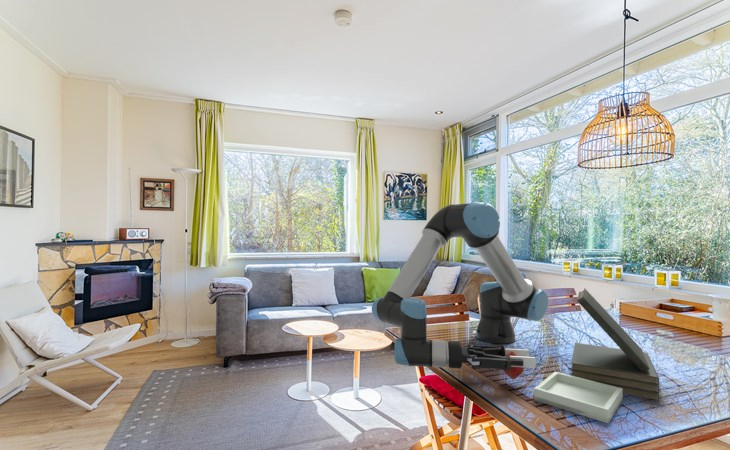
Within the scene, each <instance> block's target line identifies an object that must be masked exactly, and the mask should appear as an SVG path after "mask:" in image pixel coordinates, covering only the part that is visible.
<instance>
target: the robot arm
mask: <svg viewBox="0 0 730 450" xmlns="http://www.w3.org/2000/svg"><path fill="white" fill-rule="evenodd" d="M499 219H500V215H499V212H498V210H497V209H495V207H494V206H493V205H491V204H490V203H487V202H485V201H484V202H481V201H473V202H470V203H469V202H467V203H459V204H454V203H453V204H449V205H446V206H444V207H443V208H440V209H439V210H438V211H437V212H436V213H435V214H434V215H433V216H432V217H431V218H430V219H429V221H428V222H426V225H425V226H424V228H423V229H422V231H421V234H422V236H421V238H420V239H419V241H418V242H417V244H416V245H415V247H414V249H413V251H412V252H411V254H410V255H409V257H408V259H407V260H406V261H405V263H404V265H403V266H402V268H401V269H400V271H399V272H398V274H397V276H396V277H395V278H394V281H393V282H392V284H391V286H390V287H389V289H388V290H387V292H386V293H385V295H384V296H383V297H378V298H377V299H375V300H374V301H373V302H372V304H371V305H372V306H371V313H372V316H373V317H374V318H375V319H377V320H379V321H380V322H382V323H386V324H389V325H392V326H394V327H398V328H400V335H401V337H400V338H396V339H395V340H394V349H393V350H394V352H393V353H394V362H395V364H398V365H401V366H408V367H426V368H427V367H430V368H436V369H437V370H438V369H440V368H447V367H448V368H449V369H462V368H463V363H464V364H469V365H471V369H472V368H473V369H480V368H481V369H483V368H484V369H494V370H503V369H506V370H511V367H524V368H532V369H536V367H537V366H536V365H537V364H536V363H537V362H536V361H537V360H536V357H535V356H530V349H523V348H522V349H521V348H507V347H506V348H505V344H511V343H515V342H516V332H515V329H514V325H513V324H512V321H511V320H512V319H511V317H514V318H517V319H523V320H527V321H529V322H530V321H532V322H539V321H542V319H544V318H545V316H546V314H547V312H548V311H547V310H548V309H549V297H548V293H547V292H546V290H543V289H542V288H539V289H537V288H536V286H535V285H534V284H533V282H532V281H531V280H529V278H525V277H524V276H523V275H522V274H523V273H521V271H520V270H519V268H518V266H517V265H516V263H515V261H514V260H513V258H512V256H511V255H510V254H509V252H508V251H507V249H506V247H505V246H504V244H503V243H502V241H501V239H500V237H499V234H500V226H501V222H500V220H499ZM452 238H462V239H463V241H464V242H465V243H466V245H467V246H468V247H469V248H471V249H475V250H476V252H477V253H478V254H479V256H480V257H481V259H482V261H483V262H484V264H485V265H486V267H487V268H488V270H489V271H490V272H491V274H492V276H493V277H494V278H495V280H496V281H489V282H488V281H487V282H486V281H485V282H483V283H482V282H481V284H480V287H479V309H480V311H479V312H480V314H479V316H480V319H479V321H478V325H477V327H476V331H475V337H476V338H477V339H478V340H480V341H483V342H487V343H492V344H500V345H491V344H490V345H489V344H488V345H483V344H470V343H467V344H466V346H465V347H462V342H461V341H460V340H449V341H448V342H447V341H446V340H445V339H444V340H443V339H427V336H428V334H427V323H428V322H427V321H428V320H427V319H428V316H427V315H428V312H427V303H426V301H425V300H424V299H422V298H415V297H412V295H414V292H416V289H417V287H418V286H419V284H420V282H421V281H422V279H423V278H424V276H425V274H426V273H427V271H428V269H429V267H430V266H431V264H432V262H433V260H434V259H435V258H436V256H437V255H438V253H439V250H440V249H441V247H445V246H446V244H448V241H450V239H452ZM502 344H504V345H502ZM511 351H514V353H515V354H516V355H517V356H510V357H505V356H506V355H507V354H509V353H510V352H511ZM504 363H505V364H504Z"/></svg>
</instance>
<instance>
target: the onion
mask: <svg viewBox="0 0 730 450" xmlns="http://www.w3.org/2000/svg"><path fill="white" fill-rule="evenodd" d="M510 356H517V355H516V354H515V353H514V351H511V352H510V353H509V354H507V355H506V356H504V357H510ZM504 364H505V363H504ZM502 370H503V372H504V373H505V374H506V375H507V376H508V377H509V378H510V379H512V380H516V379H517V378H518V377H520V376H521V375H522V374H523V373H524V370H525V367H511V370H506V369H502Z"/></svg>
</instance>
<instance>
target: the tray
mask: <svg viewBox="0 0 730 450" xmlns="http://www.w3.org/2000/svg"><path fill="white" fill-rule="evenodd" d="M533 400H534V401H535V402H538V403H542V404H546V405H549V406H552V407H555V408H557V409H562V410H564V411H567V412H571V413H573V414H577V415H580V416H582V417H583V416H584V417H586V418H589V419H593V420H597V421H600V422H603V423H606V424H609V423H610V421H611V420H612V418H613V417H614V415H615V414H616V412H617V410H618V409H619V407H620V406H621V404H622V403H623V400H624V393H623V388H619V387H615V386H611V385H607V384H603V383H599V382H595V381H591V380H587V379H583V378H579V377H575V376H572V374H571V375H570V374H568V373H562V372H559V371H554V372H553V373H551V374H550V375H548V377H546V378H545V379H543V380H542V381H541V382H540V383H538V384H537V385H536V386H535V387H534V388H533Z"/></svg>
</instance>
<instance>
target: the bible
mask: <svg viewBox="0 0 730 450" xmlns="http://www.w3.org/2000/svg"><path fill="white" fill-rule="evenodd" d="M576 301H577V302H578V304H579V305H580V307H582V308H583V310H585V311H586V312H587V313H588V315H589V316H590V317H591V318H592V319H593V320H594V321H595V323H596V324H597V325H598V326H599V327H600V328H601V329H602V330H603V331H604V332H605V333H606V335H608V337H609V338H610V340H612V341H613V342H614V343H615V345H616V346H618V348H617V347H609V346H601V345H595V344H587V343H581V342H574V347H573V350H572V351H573V352H572V358H571V376H575V377H579V378H583V379H587V380H591V381H595V382H599V383H603V384H607V385H611V386H615V387H619V388H623V395H624V394H625V395H629V396H634V397H639V398H646V399H650V400H655V401H658V402H660V378H659V375H658V373H657V370H656V368H655V366H654V364H653V362H652V359H651V357H650V355H649V353H648V352H644V351H643V349H642V347H640V345H639V344H638V343H636V341H635V340H634V339H633V338H632V337H631V336H630V335H629V334H628V333H627V332H626V331H625V330H624V329H623V328H622V326H621V325H620V324H619V323H618V322H617V321H616V320H615V319H614V317H612V315H611V314H609V312H608V311H606V309H605V308H604V307H603V306H602V304H600V302H598V300H597V299H596V298H595V297H593V295H592V294H591V293H590V292H589V291H588V290H587V289H586V288H584V289H583V290H582V291H579V292H578V296H577V300H576Z"/></svg>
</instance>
